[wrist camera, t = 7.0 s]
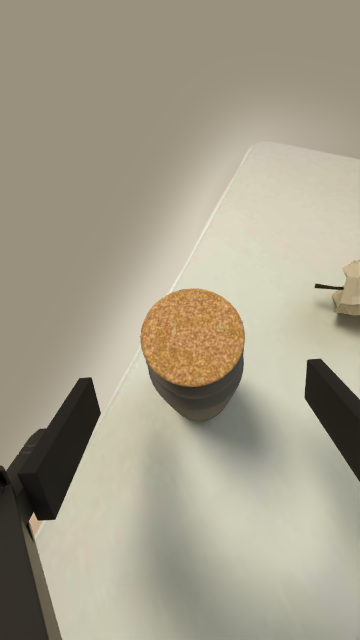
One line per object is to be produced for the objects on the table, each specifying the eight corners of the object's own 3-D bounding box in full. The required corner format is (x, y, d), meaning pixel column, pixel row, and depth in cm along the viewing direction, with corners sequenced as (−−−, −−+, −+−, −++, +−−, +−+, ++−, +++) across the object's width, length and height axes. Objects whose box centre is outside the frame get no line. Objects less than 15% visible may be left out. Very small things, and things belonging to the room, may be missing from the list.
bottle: (225, 427, 24) (251, 413, 10) (162, 413, 25) (111, 385, 11) (233, 364, 26) (263, 285, 13) (175, 354, 27) (145, 270, 14)
